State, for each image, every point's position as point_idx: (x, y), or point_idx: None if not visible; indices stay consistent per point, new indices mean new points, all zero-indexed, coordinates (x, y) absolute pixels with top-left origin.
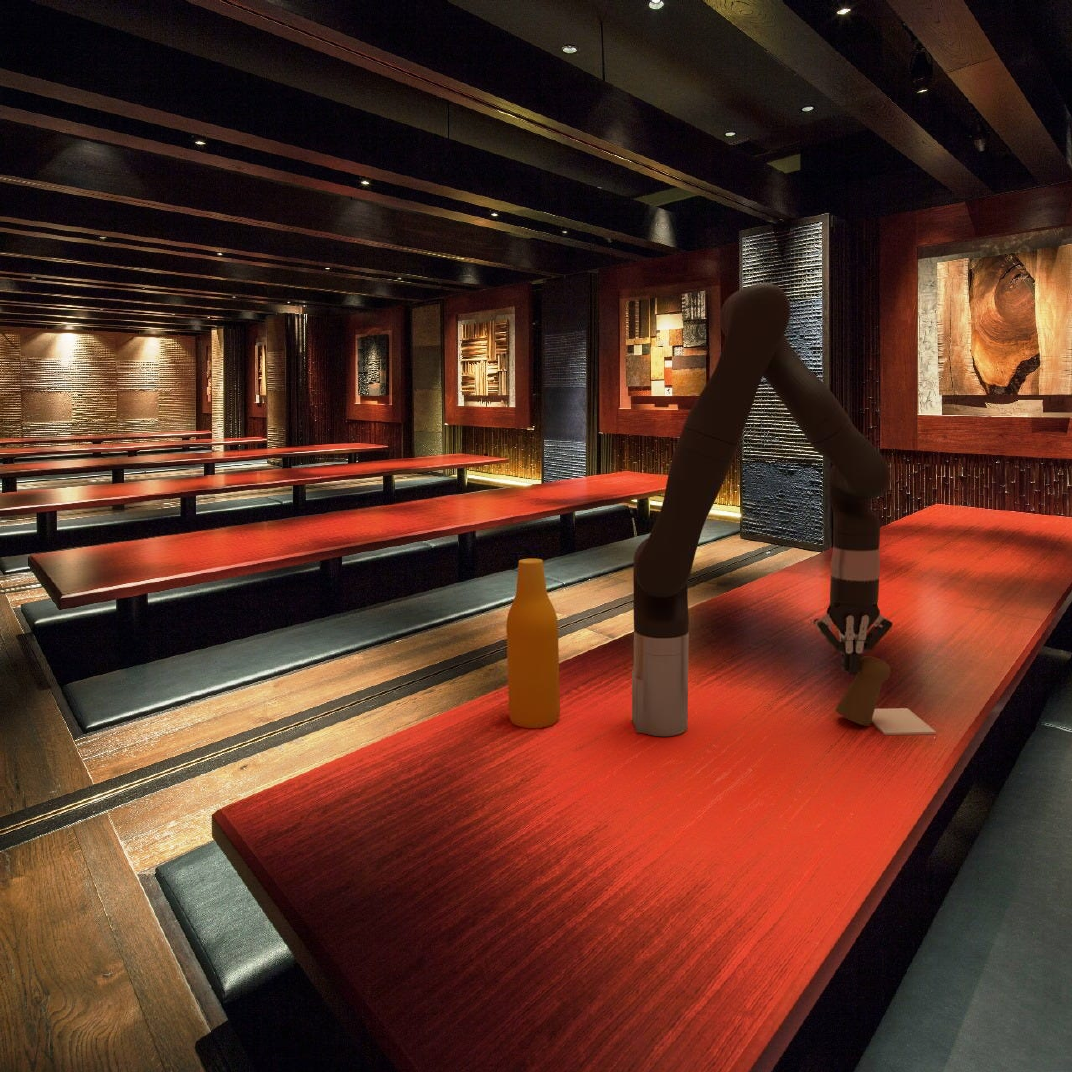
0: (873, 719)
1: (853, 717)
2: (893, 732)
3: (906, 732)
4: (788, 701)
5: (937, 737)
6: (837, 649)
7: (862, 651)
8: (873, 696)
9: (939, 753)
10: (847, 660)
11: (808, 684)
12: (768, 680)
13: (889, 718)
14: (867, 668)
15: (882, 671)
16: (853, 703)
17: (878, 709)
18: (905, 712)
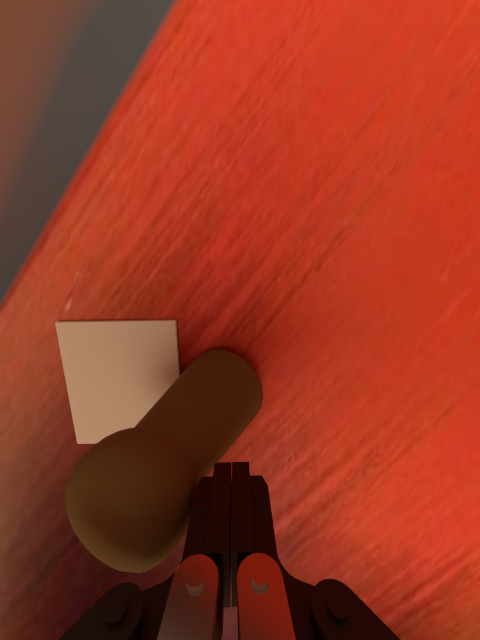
0: None
1: (235, 361)
2: (154, 321)
3: (124, 321)
4: (316, 486)
5: (61, 304)
6: (339, 585)
7: (177, 569)
8: (173, 393)
9: (85, 219)
10: (256, 520)
11: None
12: (315, 579)
13: (136, 393)
14: (170, 474)
15: (113, 449)
16: (232, 386)
17: None
18: (89, 422)
